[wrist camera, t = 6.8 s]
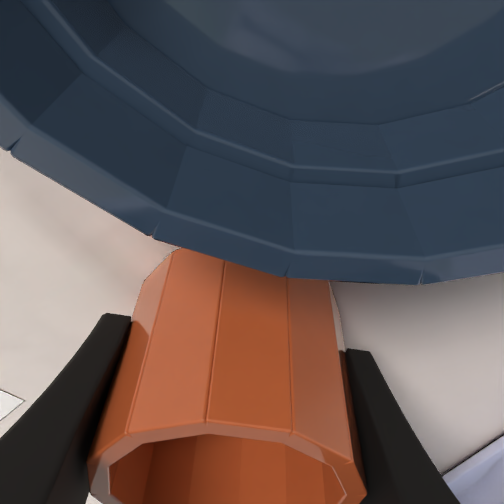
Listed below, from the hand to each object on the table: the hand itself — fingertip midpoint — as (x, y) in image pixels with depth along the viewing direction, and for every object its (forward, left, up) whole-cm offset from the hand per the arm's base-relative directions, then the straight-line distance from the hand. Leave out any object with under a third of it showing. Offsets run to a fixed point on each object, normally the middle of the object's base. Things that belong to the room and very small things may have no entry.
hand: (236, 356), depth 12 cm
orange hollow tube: (0, 0, -2) cm, 2 cm away
